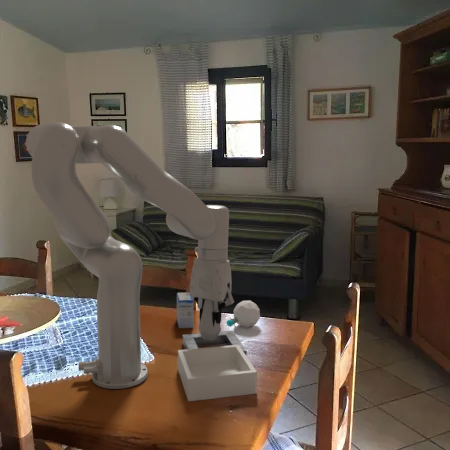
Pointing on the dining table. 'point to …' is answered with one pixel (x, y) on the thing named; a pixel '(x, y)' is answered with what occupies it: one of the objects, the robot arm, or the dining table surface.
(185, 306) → the medicine box
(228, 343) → the collar block
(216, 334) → the salt shaker
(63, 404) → the dining table surface
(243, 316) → the perfume bottle
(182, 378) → the bin
